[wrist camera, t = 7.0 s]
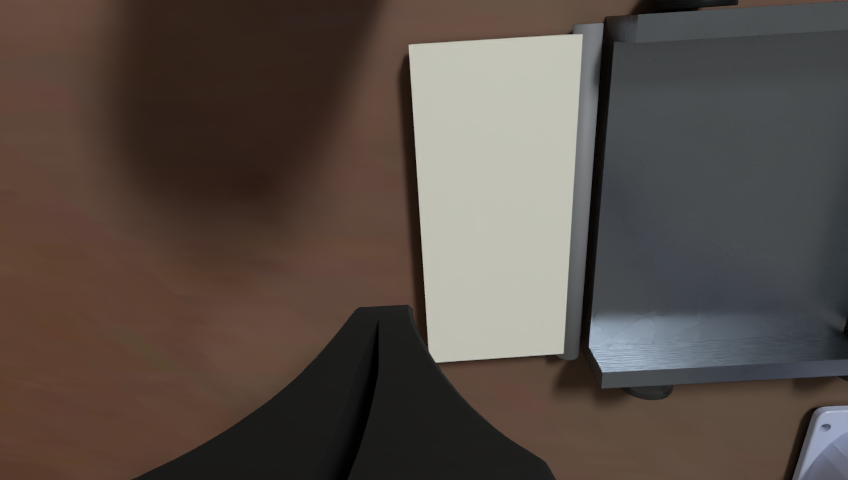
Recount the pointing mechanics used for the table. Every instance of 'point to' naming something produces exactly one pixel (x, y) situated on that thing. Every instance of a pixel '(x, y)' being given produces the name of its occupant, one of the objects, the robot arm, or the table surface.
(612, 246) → the grey piece
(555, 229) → the panel
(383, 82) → the table surface
